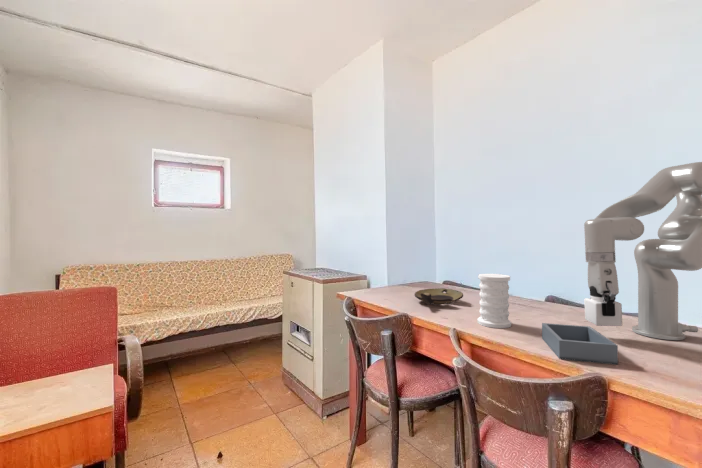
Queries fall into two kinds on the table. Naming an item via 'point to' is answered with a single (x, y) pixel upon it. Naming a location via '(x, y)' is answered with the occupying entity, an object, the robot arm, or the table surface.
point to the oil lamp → (438, 296)
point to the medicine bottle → (595, 310)
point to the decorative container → (494, 301)
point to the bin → (579, 343)
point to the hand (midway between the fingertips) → (602, 311)
